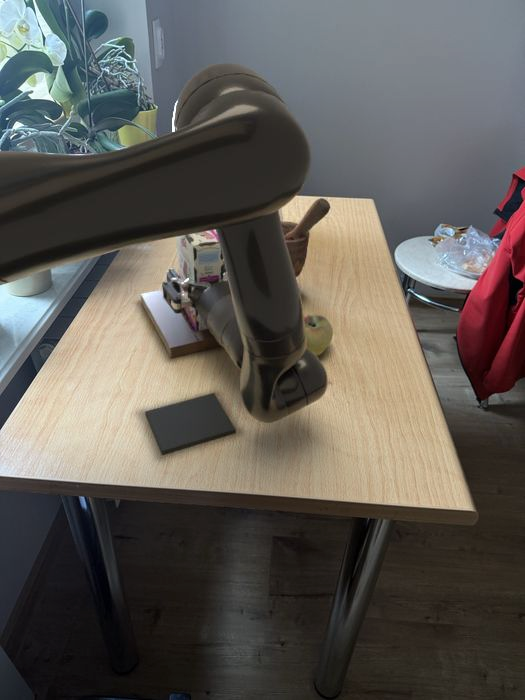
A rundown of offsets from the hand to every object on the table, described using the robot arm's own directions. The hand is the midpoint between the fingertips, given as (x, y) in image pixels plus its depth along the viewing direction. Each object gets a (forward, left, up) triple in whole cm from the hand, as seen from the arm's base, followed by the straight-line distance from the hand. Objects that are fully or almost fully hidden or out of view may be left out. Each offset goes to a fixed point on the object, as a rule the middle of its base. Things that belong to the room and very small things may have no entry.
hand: (195, 269), depth 88 cm
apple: (+14, -16, -9) cm, 23 cm away
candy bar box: (0, -1, -9) cm, 9 cm away
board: (0, -1, -9) cm, 9 cm away
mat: (-10, -25, -9) cm, 29 cm away
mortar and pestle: (+18, 0, -9) cm, 20 cm away
